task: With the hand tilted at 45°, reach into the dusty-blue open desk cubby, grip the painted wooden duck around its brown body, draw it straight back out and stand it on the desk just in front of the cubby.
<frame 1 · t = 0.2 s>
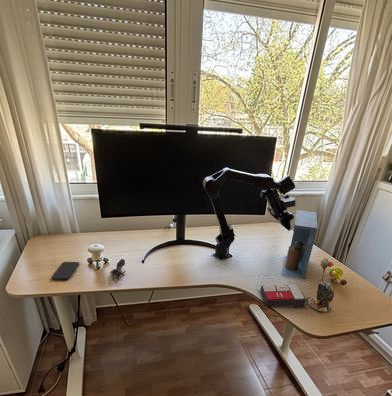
hand: (285, 226, 143), 15 cm above the table, tool tilted 35°, fingers open, 9 cm apart
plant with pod: (319, 307, 113), on the table
red and grey box: (281, 299, 117), on the table
dark squid figurine: (119, 275, 128), on the table
cubby: (294, 267, 140), on the table
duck: (291, 267, 138), resting on cubby
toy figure: (333, 281, 130), on the table
phone: (66, 271, 130), on the table
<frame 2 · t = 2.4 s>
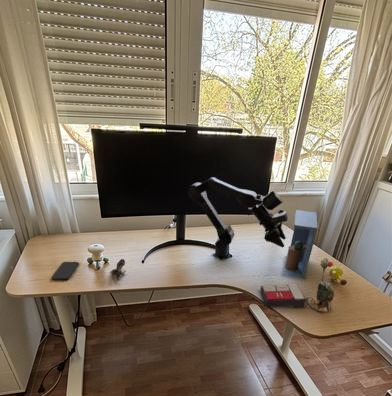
hand: (284, 242, 134), 12 cm above the table, tool tilted 45°, fingers open, 9 cm apart
nothing on the table moved.
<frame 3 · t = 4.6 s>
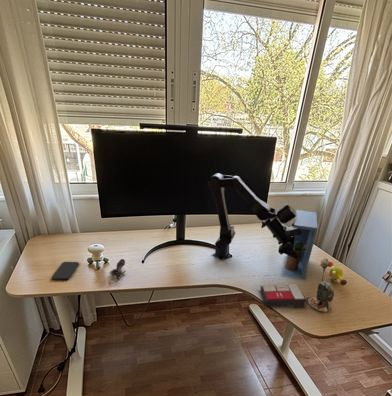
hand: (297, 255, 135), 7 cm above the table, tool tilted 45°, fingers closed on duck, 6 cm apart
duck: (291, 267, 138), resting on cubby, touching gripper
everything else where it was.
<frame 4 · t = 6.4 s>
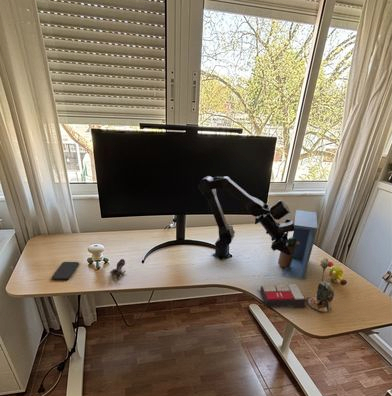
hand: (290, 251, 135), 8 cm above the table, tool tilted 45°, fingers closed on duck, 6 cm apart
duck: (284, 263, 139), point 2 cm above the table, touching gripper
everything else where it was.
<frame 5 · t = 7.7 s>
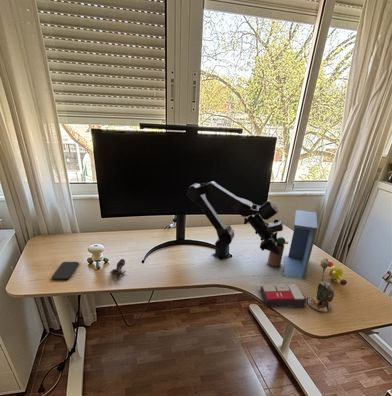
hand: (279, 251, 136), 7 cm above the table, tool tilted 45°, fingers closed on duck, 6 cm apart
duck: (274, 263, 140), point 1 cm above the table, touching gripper
everything else where it was.
when the fingers open (7 cm above the table, at t = 8.5 s): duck stays where it is, on the table.
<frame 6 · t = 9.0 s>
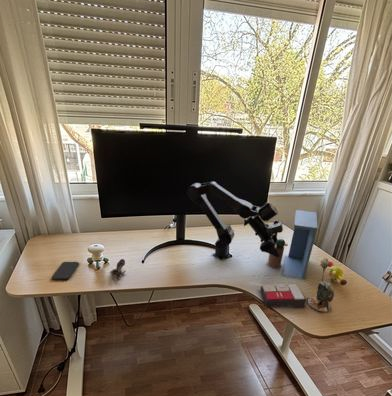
hand: (279, 252, 137), 7 cm above the table, tool tilted 45°, fingers open, 9 cm apart
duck: (274, 265, 141), on the table
everything else where it was.
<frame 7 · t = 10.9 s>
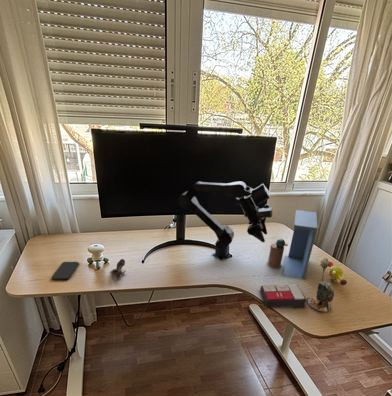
hand: (265, 237, 136), 13 cm above the table, tool tilted 35°, fingers open, 9 cm apart
nothing on the table moved.
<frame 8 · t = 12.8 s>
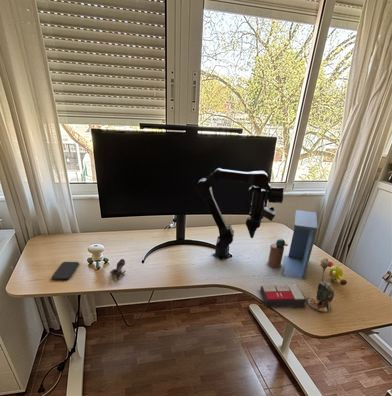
hand: (253, 234, 139), 13 cm above the table, tool pointing down, fingers open, 9 cm apart
nothing on the table moved.
at the end: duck 0.0 cm from the target spot, on the table; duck touching table; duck tilted 0° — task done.
